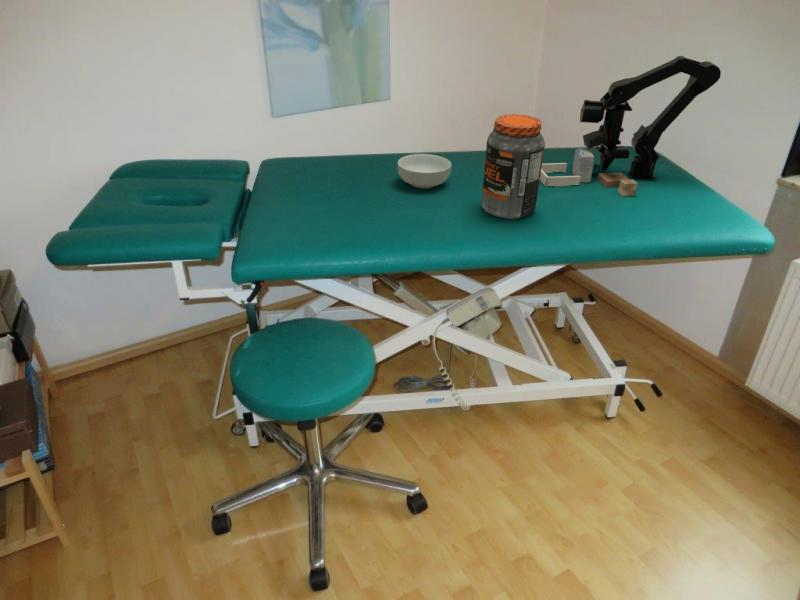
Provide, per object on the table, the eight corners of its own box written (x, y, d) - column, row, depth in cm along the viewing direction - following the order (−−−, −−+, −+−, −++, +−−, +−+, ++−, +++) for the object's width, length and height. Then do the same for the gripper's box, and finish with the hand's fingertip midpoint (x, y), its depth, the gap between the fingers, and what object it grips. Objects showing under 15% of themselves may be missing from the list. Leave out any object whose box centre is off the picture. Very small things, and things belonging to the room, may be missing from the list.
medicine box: (590, 182, 193) (595, 156, 189) (576, 182, 194) (581, 156, 189) (584, 174, 200) (589, 148, 195) (571, 173, 200) (575, 148, 196)
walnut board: (620, 179, 197) (621, 172, 196) (629, 187, 191) (631, 180, 190) (596, 180, 196) (598, 173, 195) (605, 188, 190) (607, 181, 189)
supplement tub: (470, 203, 178) (477, 115, 164) (516, 195, 184) (526, 109, 170) (498, 224, 166) (508, 131, 152) (546, 215, 171) (560, 124, 158)
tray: (564, 171, 202) (566, 162, 200) (579, 185, 191) (580, 176, 190) (533, 172, 200) (534, 163, 199) (545, 186, 190) (547, 177, 188)
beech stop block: (630, 192, 187) (633, 179, 185) (634, 195, 185) (637, 183, 182) (618, 192, 187) (620, 180, 185) (622, 196, 184) (625, 183, 182)
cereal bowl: (422, 198, 181) (422, 176, 177) (386, 182, 191) (386, 161, 188) (461, 185, 190) (462, 163, 187) (425, 170, 201) (425, 149, 197)
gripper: (577, 116, 199) (569, 161, 207) (600, 133, 183) (591, 181, 191) (609, 115, 200) (600, 160, 208) (635, 132, 184) (624, 180, 193)
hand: (603, 170), depth 200 cm, fingers closed
